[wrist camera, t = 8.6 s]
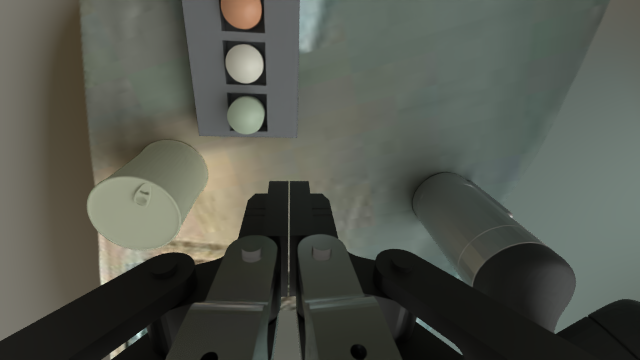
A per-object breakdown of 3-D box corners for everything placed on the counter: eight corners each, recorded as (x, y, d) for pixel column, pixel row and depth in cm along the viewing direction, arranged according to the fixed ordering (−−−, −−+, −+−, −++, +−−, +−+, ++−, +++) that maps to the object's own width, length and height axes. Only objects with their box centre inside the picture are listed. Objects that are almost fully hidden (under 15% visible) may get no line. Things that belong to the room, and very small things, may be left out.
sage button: (264, 95, 35) (262, 100, 33) (265, 127, 37) (263, 134, 34) (230, 94, 35) (225, 98, 32) (233, 127, 37) (228, 133, 34)
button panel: (299, -18, 33) (299, -23, 30) (296, 131, 40) (297, 137, 37) (187, -26, 32) (177, -32, 29) (205, 129, 39) (199, 135, 36)
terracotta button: (262, -11, 32) (260, -15, 29) (263, 30, 34) (261, 29, 31) (224, -14, 32) (218, -18, 29) (228, 28, 33) (222, 27, 31)
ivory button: (264, 44, 34) (262, 45, 32) (265, 80, 36) (263, 84, 33) (229, 43, 34) (223, 43, 31) (231, 79, 36) (227, 82, 33)
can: (218, 158, 41) (192, 201, 30) (194, 209, 44) (163, 264, 33) (150, 127, 38) (95, 162, 27) (130, 183, 41) (73, 235, 30)
